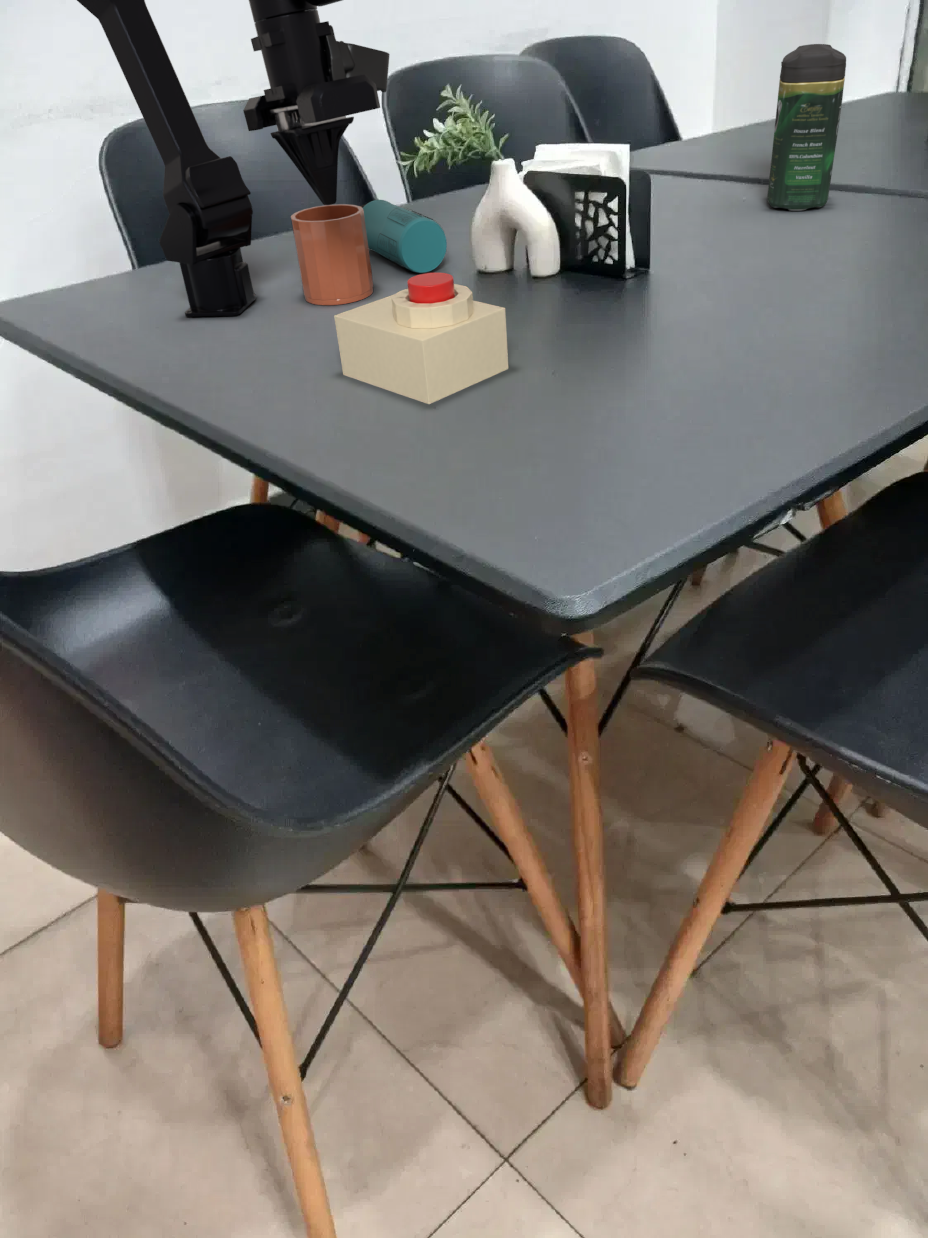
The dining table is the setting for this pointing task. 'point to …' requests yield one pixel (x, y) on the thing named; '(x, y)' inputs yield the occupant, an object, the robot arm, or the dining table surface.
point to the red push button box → (423, 344)
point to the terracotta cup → (333, 254)
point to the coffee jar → (806, 127)
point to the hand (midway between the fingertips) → (330, 204)
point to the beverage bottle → (404, 236)
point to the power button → (431, 288)
